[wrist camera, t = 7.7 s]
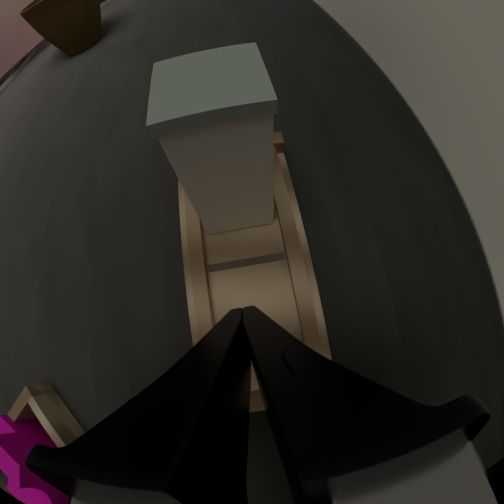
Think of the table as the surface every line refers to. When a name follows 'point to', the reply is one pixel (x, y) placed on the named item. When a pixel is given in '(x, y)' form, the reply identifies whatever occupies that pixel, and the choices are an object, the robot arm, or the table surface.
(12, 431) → the toy block
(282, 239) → the wooden tray
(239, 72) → the block
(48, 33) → the plant pot
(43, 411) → the block pen
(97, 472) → the robot arm
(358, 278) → the table surface
